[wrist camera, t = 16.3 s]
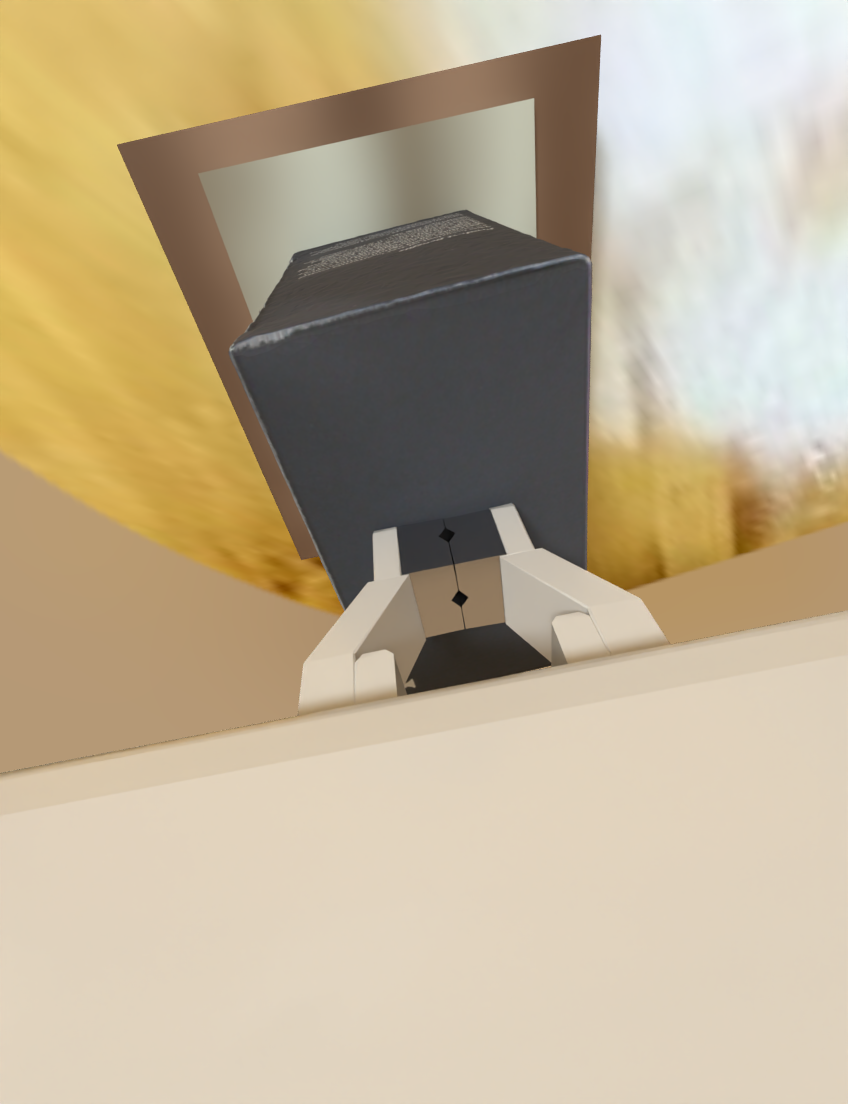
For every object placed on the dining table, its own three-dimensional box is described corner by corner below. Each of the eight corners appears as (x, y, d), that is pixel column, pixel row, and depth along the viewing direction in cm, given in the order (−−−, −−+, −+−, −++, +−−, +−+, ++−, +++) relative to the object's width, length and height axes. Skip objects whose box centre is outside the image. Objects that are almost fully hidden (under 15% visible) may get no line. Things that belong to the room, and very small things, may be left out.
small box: (510, 480, 22) (598, 667, 14) (372, 512, 22) (379, 713, 14) (480, 199, 15) (618, 245, 7) (283, 252, 16) (201, 351, 7)
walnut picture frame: (565, 52, 16) (605, 32, 13) (559, 473, 26) (581, 507, 23) (151, 146, 16) (112, 144, 14) (306, 524, 26) (300, 563, 24)
